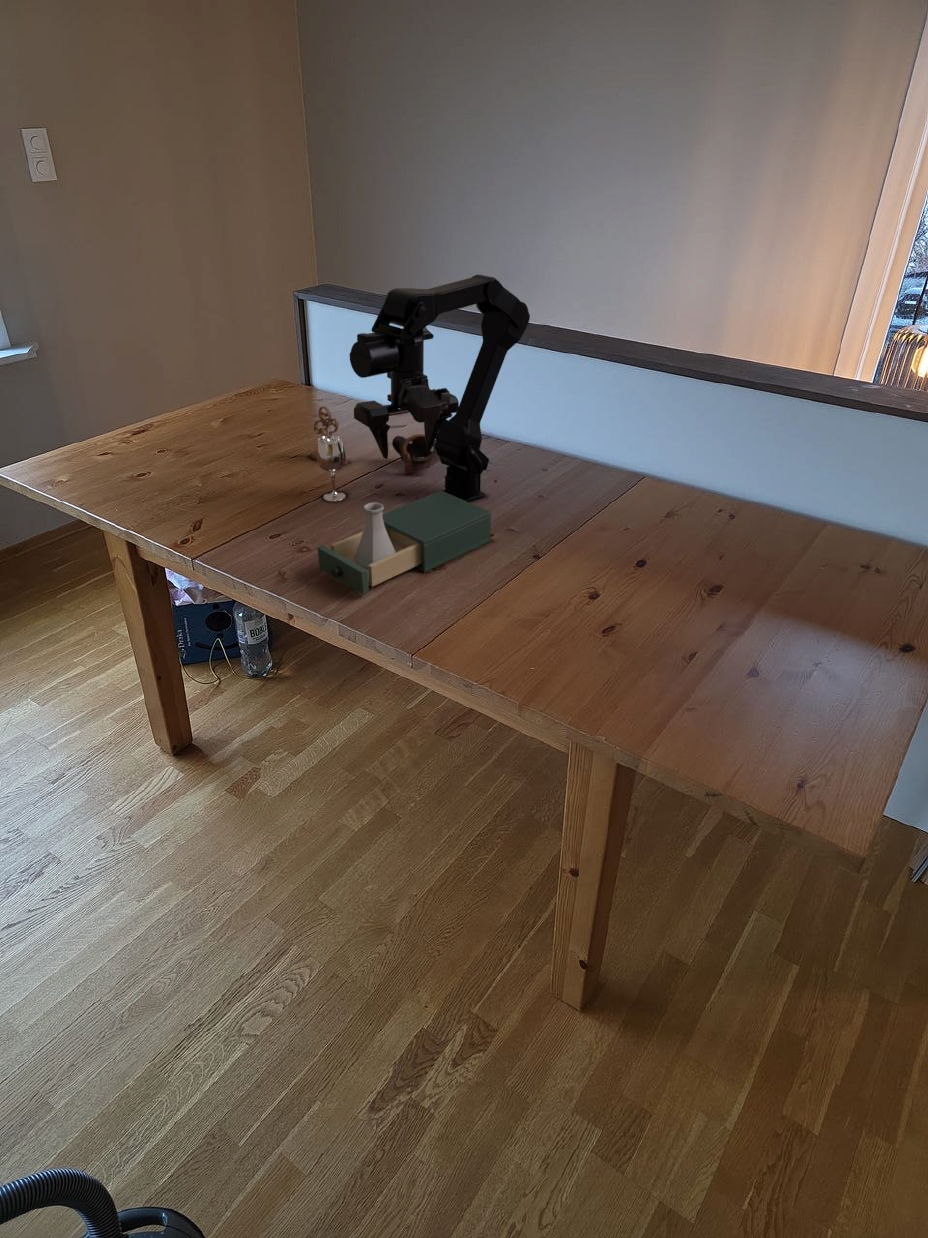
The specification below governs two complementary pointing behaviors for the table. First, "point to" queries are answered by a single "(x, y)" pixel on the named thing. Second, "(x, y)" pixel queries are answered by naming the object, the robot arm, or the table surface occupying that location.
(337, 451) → the wineglass
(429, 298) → the robot arm
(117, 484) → the table surface
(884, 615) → the table surface
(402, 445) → the pottery mug
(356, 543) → the drawer
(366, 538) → the flask
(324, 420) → the brown looped piece
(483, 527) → the cabinet
